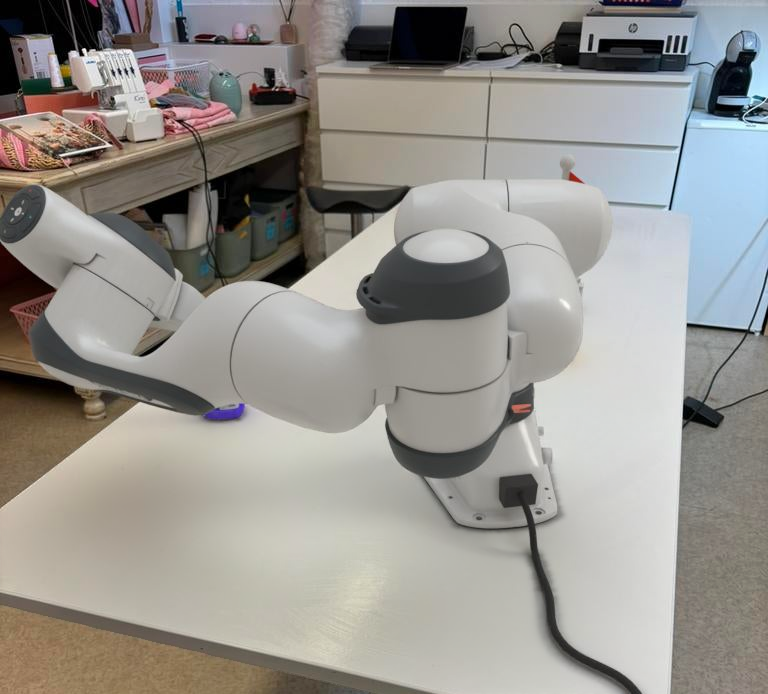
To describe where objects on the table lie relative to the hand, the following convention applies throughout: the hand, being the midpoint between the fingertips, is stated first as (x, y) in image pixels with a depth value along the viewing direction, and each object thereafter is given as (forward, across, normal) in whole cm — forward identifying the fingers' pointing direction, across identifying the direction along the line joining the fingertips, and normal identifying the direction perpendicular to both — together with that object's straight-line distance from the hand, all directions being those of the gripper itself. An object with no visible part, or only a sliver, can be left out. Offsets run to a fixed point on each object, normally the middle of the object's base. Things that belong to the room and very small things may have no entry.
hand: (172, 330), depth 104 cm
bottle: (+19, 0, -6) cm, 20 cm away
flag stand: (+67, +40, +41) cm, 88 cm away
